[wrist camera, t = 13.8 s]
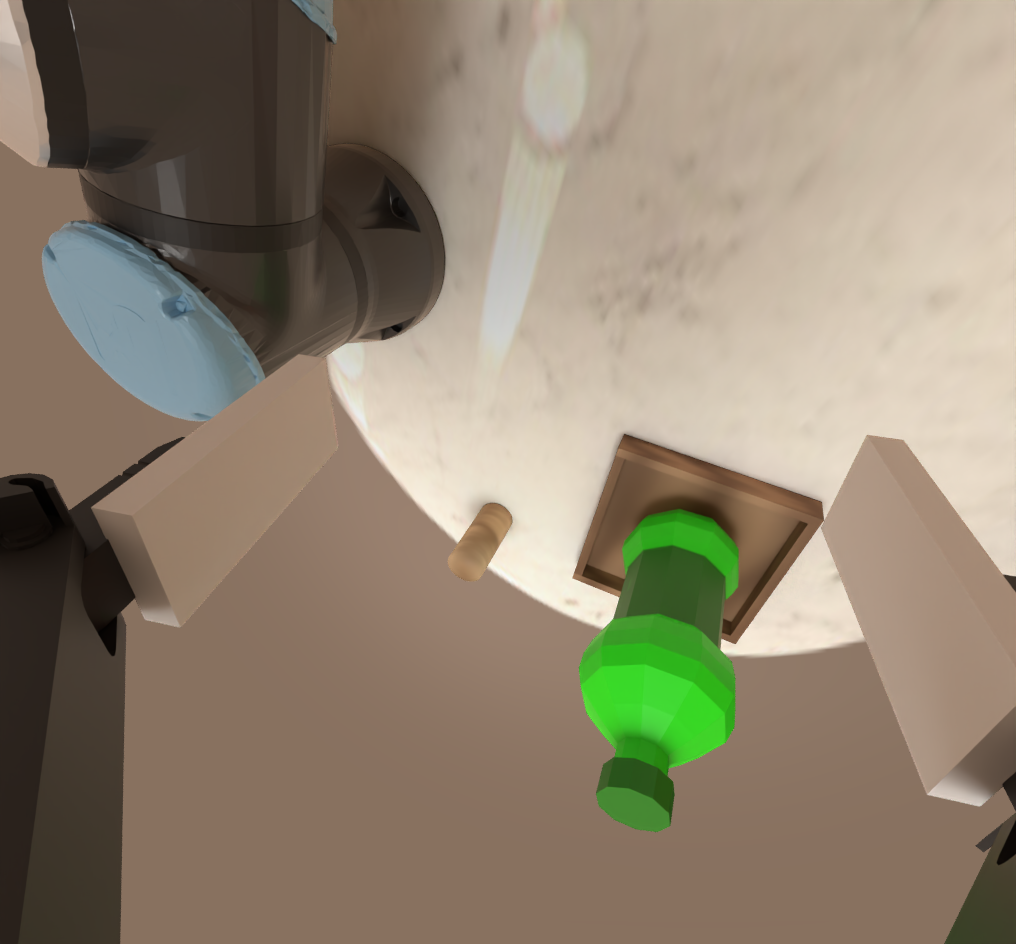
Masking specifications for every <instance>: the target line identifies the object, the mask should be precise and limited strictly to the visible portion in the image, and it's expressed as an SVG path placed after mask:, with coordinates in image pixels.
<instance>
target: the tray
mask: <svg viewBox="0 0 1016 944" xmlns="http://www.w3.org/2000/svg"><path fill="white" fill-rule="evenodd" d="M676 509H682V510H685V511H689V512H692V513H696V514H699V515H702V516H706V517H709V518H712V519H713V520H714V521H715V522H716V523H717V524H718V525H719V526H720V527H721V528H722V529H723V530H724V531H725V532H726V533H727V534H728V536H729V537H730V538H731V539H732V540H733V541H734V542H735V544H736V546H737V547H738V549H739V578H738V587H737V589H736V590H735V591H734V593H733V594H732V595H731V596H730V597H729V598H727V599H726V600H725V602H724V613H723V624H722V636H721V639H724V640H726V641H729V642H731V643H734V644H736V643H737V641H738V640H739V638H740V637H741V636H742V634H743V633H744V631H745V630H746V629H747V627H748V626H749V624H750V623H751V622H752V620H753V619H754V617H755V616H756V615H757V613H758V612H759V610H760V609H761V608H762V606H763V605H764V603H765V602H766V601H767V599H768V598H769V596H770V595H771V594H772V592H773V591H774V589H775V588H776V587H777V585H778V584H779V582H780V581H781V580H782V578H783V577H784V575H785V574H786V573H787V571H788V570H789V568H790V567H791V566H792V564H793V563H794V561H795V560H796V559H797V557H798V556H799V554H800V553H801V552H802V550H803V549H804V547H805V546H806V545H807V543H808V542H809V540H810V539H811V538H812V536H813V535H814V533H815V532H816V531H817V529H818V528H819V526H820V525H821V524H822V522H823V521H824V517H823V508H822V502H820V501H817V500H814V499H811V498H808V497H805V496H802V495H799V494H796V493H794V492H791V491H788V490H785V489H782V488H779V487H776V486H773V485H770V484H768V483H765V482H762V481H759V480H756V479H753V478H750V477H747V476H744V475H741V474H739V473H736V472H733V471H730V470H727V469H724V468H721V467H718V466H715V465H712V464H710V463H707V462H704V461H701V460H698V459H695V458H692V457H689V456H686V455H683V454H681V453H678V452H675V451H672V450H669V449H666V448H663V447H660V446H657V445H655V444H652V443H649V442H646V441H643V440H640V439H637V438H634V437H631V436H628V435H626V434H624V436H623V438H622V441H621V443H620V445H619V448H618V451H617V454H616V456H615V459H614V462H613V465H612V468H611V470H610V473H609V476H608V479H607V482H606V485H605V487H604V490H603V493H602V496H601V499H600V502H599V504H598V507H597V510H596V513H595V516H594V518H593V521H592V524H591V527H590V530H589V533H588V535H587V538H586V541H585V544H584V547H583V550H582V552H581V555H580V558H579V561H578V564H577V567H576V569H575V572H574V575H573V579H576V580H578V581H581V582H583V583H586V584H588V585H590V586H593V587H595V588H598V589H600V590H603V591H605V592H608V593H610V594H613V595H615V596H618V597H620V594H621V591H622V588H623V584H624V581H625V577H626V575H625V568H624V560H623V552H622V548H623V545H624V541H625V540H626V539H627V537H628V536H629V535H630V534H631V533H632V532H633V530H634V529H635V528H636V527H637V526H638V525H639V523H640V522H641V521H642V520H643V519H644V518H645V517H647V516H648V515H652V514H656V513H661V512H666V511H671V510H676Z"/></svg>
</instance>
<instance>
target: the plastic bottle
mask: <svg viewBox="0 0 1016 944" xmlns="http://www.w3.org/2000/svg"><path fill="white" fill-rule="evenodd" d="M622 552H623V560H624V568H625V575H626V577H625V581H624V584H623V588H622V591H621V594H620V598H619V601H618V605H617V608H616V612H615V615H614V618H613V620H612V621H611V622H610V623H609V624H608V625H607V626H606V627H605V628H604V629H603V630H602V631H601V632H600V633H599V634H598V635H597V636H596V637H595V638H594V639H593V640H592V641H591V643H590V644H589V646H588V648H587V649H586V651H585V652H584V654H583V657H582V660H581V663H580V666H579V673H580V683H581V689H582V693H583V699H584V703H585V708H586V713H587V714H588V716H589V717H590V718H591V720H592V721H593V722H594V724H595V725H596V726H597V728H598V729H599V730H600V732H601V733H602V734H603V736H604V737H605V738H606V739H607V740H608V741H609V742H610V743H611V745H612V746H613V747H614V748H615V749H616V753H615V757H614V758H612V759H611V760H609V761H608V762H606V763H605V764H604V765H603V768H602V772H601V776H600V780H599V784H598V788H597V792H596V795H597V800H598V804H599V806H600V807H601V808H602V809H603V810H604V811H605V812H606V813H607V814H608V815H610V816H611V817H612V818H613V819H614V820H616V821H619V822H621V823H623V824H625V825H628V826H630V827H632V828H634V829H638V830H646V831H654V832H658V831H661V830H663V829H665V828H667V827H669V826H670V824H671V817H672V810H673V802H674V784H673V781H672V780H671V779H670V778H669V777H667V776H668V769H669V768H671V767H675V766H679V765H682V764H684V763H687V762H689V761H692V760H694V759H697V758H699V757H700V756H703V755H704V754H706V753H708V752H710V751H712V750H713V749H715V748H717V747H719V746H720V745H722V744H724V743H726V741H727V739H728V738H729V736H730V734H731V732H732V731H733V729H734V725H735V674H734V669H733V665H732V661H731V660H730V659H729V658H728V657H727V656H726V655H725V654H724V653H723V652H722V651H721V650H720V647H721V636H722V624H723V613H724V602H725V600H726V599H727V598H729V597H730V596H731V595H732V594H733V593H734V591H735V590H736V589H737V587H738V578H739V549H738V547H737V546H736V544H735V542H734V541H733V540H732V539H731V538H730V537H729V536H728V534H727V533H726V532H725V531H724V530H723V529H722V528H721V527H720V526H719V525H718V524H717V523H716V522H715V521H714V520H713V519H712V518H709V517H706V516H702V515H699V514H696V513H692V512H689V511H685V510H682V509H676V510H671V511H666V512H661V513H656V514H652V515H648V516H647V517H645V518H644V519H643V520H642V521H641V522H640V523H639V525H638V526H637V527H636V528H635V529H634V530H633V532H632V533H631V534H630V535H629V536H628V537H627V539H626V540H625V541H624V545H623V548H622Z"/></svg>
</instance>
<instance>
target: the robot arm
mask: <svg viewBox="0 0 1016 944" xmlns="http://www.w3.org/2000/svg"><path fill="white" fill-rule="evenodd" d="M336 41H337V32H336V29H335V27H334V26H333V0H0V141H1V142H2V143H4V144H5V145H7V146H8V147H9V148H11V149H12V150H13V151H15V152H16V153H17V154H19V155H20V156H22V157H23V158H24V159H25V160H27V161H28V162H30V163H31V164H32V165H35V166H40V167H50V168H71V169H78V172H79V177H80V182H81V186H82V191H83V196H84V201H85V206H86V211H87V221H85V220H81V221H71V222H69V223H66V224H64V225H63V227H62V228H61V230H58V231H57V232H54V233H53V234H52V235H51V236H50V238H49V241H48V244H47V245H46V246H45V247H44V249H43V253H42V267H43V273H44V278H45V282H46V285H47V287H48V290H49V293H50V295H51V298H52V300H53V302H54V304H55V306H56V308H57V310H58V312H59V314H60V315H61V317H62V319H63V320H64V322H65V324H66V325H67V326H68V328H69V329H70V331H71V332H72V334H73V335H74V337H75V338H76V339H77V340H78V342H79V343H80V344H81V346H82V347H83V348H84V349H85V351H86V352H87V353H88V354H89V355H90V356H91V358H92V359H93V360H94V361H95V362H96V363H97V364H98V365H100V367H101V368H102V369H103V370H104V371H105V372H106V373H107V374H108V375H109V376H110V377H111V378H112V379H113V380H115V381H116V382H117V383H118V384H119V385H121V386H122V387H123V388H124V389H125V390H127V391H128V392H129V393H131V394H132V395H134V396H135V397H137V398H138V399H139V400H141V401H143V402H144V403H146V404H148V405H149V406H151V407H153V408H155V409H157V410H159V411H161V412H164V413H166V414H168V415H171V416H173V417H177V418H181V419H185V420H191V421H208V422H206V423H205V424H203V425H202V426H201V427H199V428H198V429H197V430H195V431H194V432H193V433H191V434H190V435H188V436H187V437H186V438H185V437H181V438H178V439H176V440H174V441H171V442H169V443H167V444H164V445H162V446H160V447H157V448H156V449H154V450H153V451H152V452H150V453H149V454H148V455H146V456H145V457H143V458H142V459H140V460H139V461H138V464H134V465H132V466H131V467H129V468H128V469H126V470H125V471H124V472H123V475H122V476H121V475H118V476H117V477H115V478H114V479H113V480H111V481H110V482H108V483H107V484H106V485H104V486H103V487H102V488H100V489H99V490H97V491H96V492H94V493H93V494H92V495H90V496H89V497H88V498H86V499H85V500H83V501H82V502H80V503H79V504H78V505H76V506H75V507H74V508H72V509H71V510H68V509H67V506H66V504H65V503H64V501H63V499H62V497H61V495H60V493H59V491H58V489H57V487H56V485H55V483H54V481H53V480H52V479H50V478H49V477H47V476H45V475H40V474H31V473H28V474H18V475H10V476H7V477H3V478H0V944H120V921H121V919H120V918H121V869H122V868H121V867H122V866H121V865H122V814H123V762H124V761H123V760H124V709H125V653H126V624H125V621H124V618H123V616H122V614H121V611H122V610H123V609H124V608H125V607H126V606H127V605H128V604H129V603H130V602H131V601H132V600H133V599H134V598H135V600H136V602H137V604H138V606H139V608H140V610H141V612H142V615H143V617H144V619H145V620H148V621H153V622H157V623H162V624H166V625H171V626H175V627H182V626H183V624H184V623H185V622H186V621H187V620H188V619H189V617H190V616H191V615H192V614H193V613H194V612H195V611H196V610H197V608H198V607H199V606H200V605H201V604H202V603H203V602H204V600H205V599H206V598H207V597H208V596H209V595H210V594H211V593H212V591H213V590H214V589H215V588H216V587H217V586H218V585H219V583H220V582H221V581H222V580H223V579H224V578H225V577H226V575H227V574H228V573H229V572H230V571H231V570H232V569H233V568H234V566H235V565H236V564H237V563H238V562H239V561H240V560H241V558H242V557H243V556H244V555H245V554H246V552H248V550H249V549H250V548H251V547H252V546H253V545H254V543H256V541H257V540H258V539H259V538H260V537H261V536H262V535H263V533H264V532H265V531H266V530H267V529H268V528H269V527H270V525H271V524H272V523H273V522H274V521H275V520H276V519H277V517H278V516H279V515H280V514H281V513H282V512H283V511H284V510H285V508H286V507H287V506H288V505H289V504H290V503H291V502H292V500H293V499H294V498H295V497H296V496H297V495H298V494H299V493H300V491H301V490H302V489H303V488H304V487H305V485H307V483H308V482H309V481H310V480H311V479H312V478H313V477H314V475H315V474H316V473H317V472H318V471H319V470H320V469H321V467H322V466H323V465H324V464H325V463H326V462H327V461H328V460H329V458H330V457H331V456H332V455H333V454H334V453H335V452H336V450H337V449H338V440H337V434H336V426H335V419H334V412H333V405H332V398H331V391H330V384H329V377H328V370H327V363H326V358H324V357H325V356H327V355H328V354H330V353H331V352H333V351H334V350H336V349H337V348H339V347H340V346H342V345H344V344H346V343H358V342H370V341H381V340H386V339H390V338H393V337H396V336H398V335H400V334H402V333H404V332H406V331H407V330H409V329H410V328H411V327H413V326H414V325H416V324H417V323H419V322H420V321H421V320H422V319H423V318H424V317H425V316H426V315H427V314H428V313H429V312H430V310H431V309H432V307H433V306H434V304H435V302H436V300H437V298H438V296H439V293H440V290H441V286H442V282H443V277H444V265H445V261H444V247H443V241H442V236H441V232H440V228H439V225H438V222H437V219H436V216H435V214H434V212H433V209H432V207H431V205H430V203H429V201H428V200H427V198H426V196H425V195H424V193H423V191H422V190H421V188H420V187H419V186H418V184H417V183H416V182H415V181H414V179H413V178H412V177H411V176H410V175H409V174H408V173H407V172H406V171H405V170H404V169H403V168H402V167H401V166H400V165H399V164H398V163H396V162H395V161H394V160H392V159H391V158H389V157H388V156H386V155H385V154H383V153H381V152H379V151H377V150H375V149H372V148H369V147H366V146H363V145H358V144H337V145H330V146H327V138H328V120H329V103H330V85H331V67H332V50H333V44H336ZM821 529H822V532H823V534H824V537H825V539H826V542H827V544H828V547H829V549H830V552H831V554H832V557H833V559H834V562H835V564H836V567H837V569H838V572H839V574H840V577H841V580H842V582H843V585H844V587H845V590H846V592H847V595H848V597H849V600H850V602H851V605H852V607H853V610H854V612H855V615H856V617H857V620H858V622H859V625H860V627H861V630H862V632H863V635H864V637H865V640H866V642H867V645H868V648H869V650H870V653H871V655H872V658H873V660H874V663H875V665H876V667H877V670H878V673H879V675H880V678H881V680H882V682H883V685H884V688H885V690H886V693H887V695H888V698H889V700H890V703H891V705H892V708H893V710H894V713H895V715H896V718H897V721H898V723H899V726H900V728H901V731H902V733H903V736H904V738H905V740H906V743H907V745H908V748H909V750H910V753H911V755H912V758H913V761H914V763H915V766H916V768H917V771H918V773H919V775H920V778H921V781H922V783H923V786H924V788H925V791H926V794H927V795H931V796H935V797H940V798H945V799H949V800H953V801H958V802H962V803H967V804H971V805H976V806H981V805H983V804H984V803H985V802H986V801H987V800H988V799H989V798H991V797H992V796H993V795H994V794H995V793H996V792H997V791H999V790H1000V789H1001V788H1002V787H1004V789H1005V791H1006V793H1007V795H1008V796H1009V798H1010V801H1011V803H1012V805H1013V806H1014V809H1015V810H1016V577H1015V576H1009V575H1003V574H1002V573H1001V572H1000V570H999V569H998V568H997V566H996V565H995V564H994V562H993V561H992V560H991V558H990V557H989V556H988V554H987V553H986V551H985V550H984V549H983V547H982V546H981V545H980V543H979V542H978V541H977V539H976V538H975V537H974V535H973V534H972V532H971V531H970V530H969V528H968V527H967V526H966V524H965V523H964V522H963V520H962V519H961V518H960V516H959V515H958V513H957V512H956V511H955V509H954V508H953V507H952V505H951V504H950V503H949V501H948V500H947V499H946V497H945V496H944V495H943V493H942V492H941V490H940V489H939V488H938V486H937V485H936V484H935V482H934V481H933V480H932V478H931V477H930V476H929V474H928V473H927V471H926V470H925V469H924V467H923V466H922V465H921V463H920V462H919V461H918V459H917V458H916V457H915V455H914V454H913V452H912V451H911V450H910V448H909V447H908V446H907V444H906V443H905V442H904V440H899V439H892V438H885V437H878V436H871V435H867V436H866V438H865V440H864V442H863V444H862V446H861V448H860V450H859V452H858V454H857V456H856V458H855V460H854V462H853V464H852V466H851V468H850V470H849V472H848V474H847V476H846V478H845V480H844V482H843V484H842V486H841V488H840V490H839V492H838V495H837V497H836V499H835V501H834V503H833V505H832V507H831V509H830V511H829V513H828V515H827V517H826V519H825V521H824V523H823V525H822V527H821ZM991 846H992V847H991ZM976 847H978V848H979V849H980V850H982V851H983V852H985V851H986V850H987V849H989V848H990V847H991V849H990V851H989V853H988V855H987V857H986V859H985V862H984V863H983V865H982V867H981V870H980V872H979V874H978V876H977V878H976V880H975V882H974V884H973V886H972V888H971V890H970V892H969V894H968V896H967V898H966V900H965V903H964V905H963V907H962V908H961V911H960V912H959V915H958V917H957V919H956V921H955V923H954V925H953V927H952V929H951V931H950V933H949V935H948V937H947V939H946V941H945V943H944V944H1016V813H1015V814H1014V815H1012V816H1011V817H1010V818H1009V819H1007V820H1006V821H1005V822H1004V823H1002V824H1001V825H1000V826H999V827H998V828H996V829H995V830H994V831H993V832H991V833H990V834H989V835H988V836H986V837H985V838H984V839H983V840H982V841H981V842H979V843H978V844H977V845H976Z"/></svg>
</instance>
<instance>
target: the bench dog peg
mask: <svg viewBox="0 0 1016 944" xmlns="http://www.w3.org/2000/svg"><path fill="white" fill-rule="evenodd" d="M511 525H512V516H511V514H510V513H509V511H508V510H507V509H506V508H504V507H503V506H501V505H499V504H496V503H489V504H486V505H484V506H483V508H482V509H481V510H480V512H479V513H478V515H477V516H476V518H475V519H474V521H473V522H472V524H471V525H470V527H469V528H468V530H467V531H466V533H465V534H464V536H463V537H462V539H461V540H460V542H459V543H458V544H457V546H456V547H455V549H454V551H453V552H452V553H451V555H450V556H449V558H448V565H449V568H450V569H451V571H452V572H453V573H454V574H455V575H456V576H458V577H459V578H461V579H463V580H466V581H477V580H479V579H480V578H481V576H482V575H483V573H484V571H485V569H486V568H487V566H488V564H489V563H490V561H491V559H492V557H493V556H494V554H495V552H496V551H497V549H498V547H499V545H500V544H501V542H502V540H503V539H504V537H505V535H506V533H507V532H508V530H509V528H510V527H511Z"/></svg>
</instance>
